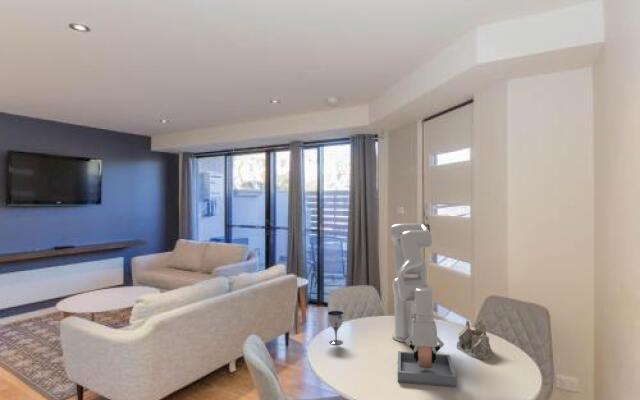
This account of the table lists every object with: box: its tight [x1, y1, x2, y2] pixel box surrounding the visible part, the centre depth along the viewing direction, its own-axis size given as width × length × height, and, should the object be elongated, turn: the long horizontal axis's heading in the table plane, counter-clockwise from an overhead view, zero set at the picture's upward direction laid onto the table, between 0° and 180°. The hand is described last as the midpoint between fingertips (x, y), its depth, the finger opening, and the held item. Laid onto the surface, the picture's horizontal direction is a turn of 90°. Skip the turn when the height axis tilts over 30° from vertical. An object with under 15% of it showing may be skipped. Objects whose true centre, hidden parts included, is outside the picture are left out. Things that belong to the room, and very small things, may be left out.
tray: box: [397, 350, 457, 388], centre depth 151 cm, size 20×22×4 cm
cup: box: [417, 346, 432, 368], centre depth 151 cm, size 6×6×9 cm
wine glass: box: [327, 310, 344, 346], centre depth 185 cm, size 8×8×15 cm
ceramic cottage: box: [456, 317, 493, 360], centre depth 171 cm, size 16×16×15 cm
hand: (424, 360), depth 151 cm, fingers closed on cup, 6 cm apart
